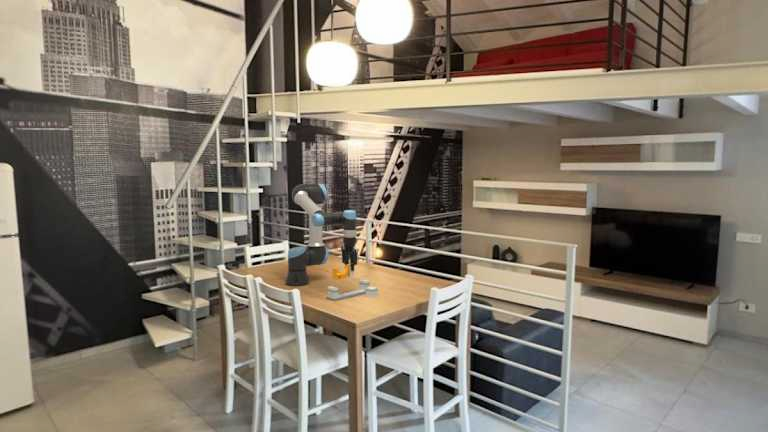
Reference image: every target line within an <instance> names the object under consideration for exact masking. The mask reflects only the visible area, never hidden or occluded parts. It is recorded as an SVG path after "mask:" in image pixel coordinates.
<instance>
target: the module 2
mask: <svg viewBox="0 0 768 432" xmlns="http://www.w3.org/2000/svg"><path fill="white" fill-rule="evenodd" d="M358 281H359V282H358V284H359V285H358V287H359V288H358V289H359V290H360V289H361V290H364V291H366V288H368V287H371V284H370V283H371V282H370V281H371V280H366V279H359V280H358Z"/></svg>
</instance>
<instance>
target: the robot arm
mask: <svg viewBox="0 0 768 432" xmlns="http://www.w3.org/2000/svg"><path fill="white" fill-rule="evenodd" d="M291 198H292V201H293V202H294V203H295V204H296V205H299V206H300V207H301V208H302V209H303V210H304V211H305V212H306V213H307V214H308V231H309V232H308V233H309V235H308V236H309V243H308V244H307V245H306V246H307V248H306V246H296V247H292V248H289V250H288V251H287V263H288V264H287V266H288V267H287V275H286V279H285V284H286V285H288V286H295V287H296V286H305V285H309V283H310V277H309V274H308V273H307V267H312V266H321V265H325V264H326V263H327V262H328V259H329V249H328V247H326V245H325V243H324V242H323V227H326V226H327V227H328V226H342V228H343V229H342V230H343V233H342V236H343V237H342V239H343V241H342V243H343V246H340V250H341V262H342V264H344V266H345V265H350V277H354V276H355V266H357V265H358V256H359V255H358V253H359V251H360V249H359V248H357V247H356V243H357V212H356V210H354V209H353V210H352V209H351V210H350V209H346V210H343V212H342V211H336V212H325V211H323V206H324V205H325V201H327V199H328V191H327V188H326V186H325V185H324V184H322V183H299V184H298V185H296V186H295V187H294V188H293V189H292V192H291ZM350 277H349V278H350Z"/></svg>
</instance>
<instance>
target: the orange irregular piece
mask: <svg viewBox="0 0 768 432" xmlns="http://www.w3.org/2000/svg"><path fill="white" fill-rule="evenodd" d="M347 278H350V265H345V264H344V269H343V271H342V272H340V271H339V267H332V280H336V281H341V280H346V279H347Z"/></svg>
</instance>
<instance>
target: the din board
mask: <svg viewBox="0 0 768 432" xmlns="http://www.w3.org/2000/svg"><path fill="white" fill-rule="evenodd" d="M361 295H366V291H364V290H361V289H360V290H359V288H358V289H355V290H351V291H346V292H342V293H341V292H340V293H338V298H336V299H332V298H329V297H328V296H326V299H327V300H331V301H334V302H337V301H341V300H344V299H349V298H353V297H357V296H361Z"/></svg>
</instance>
